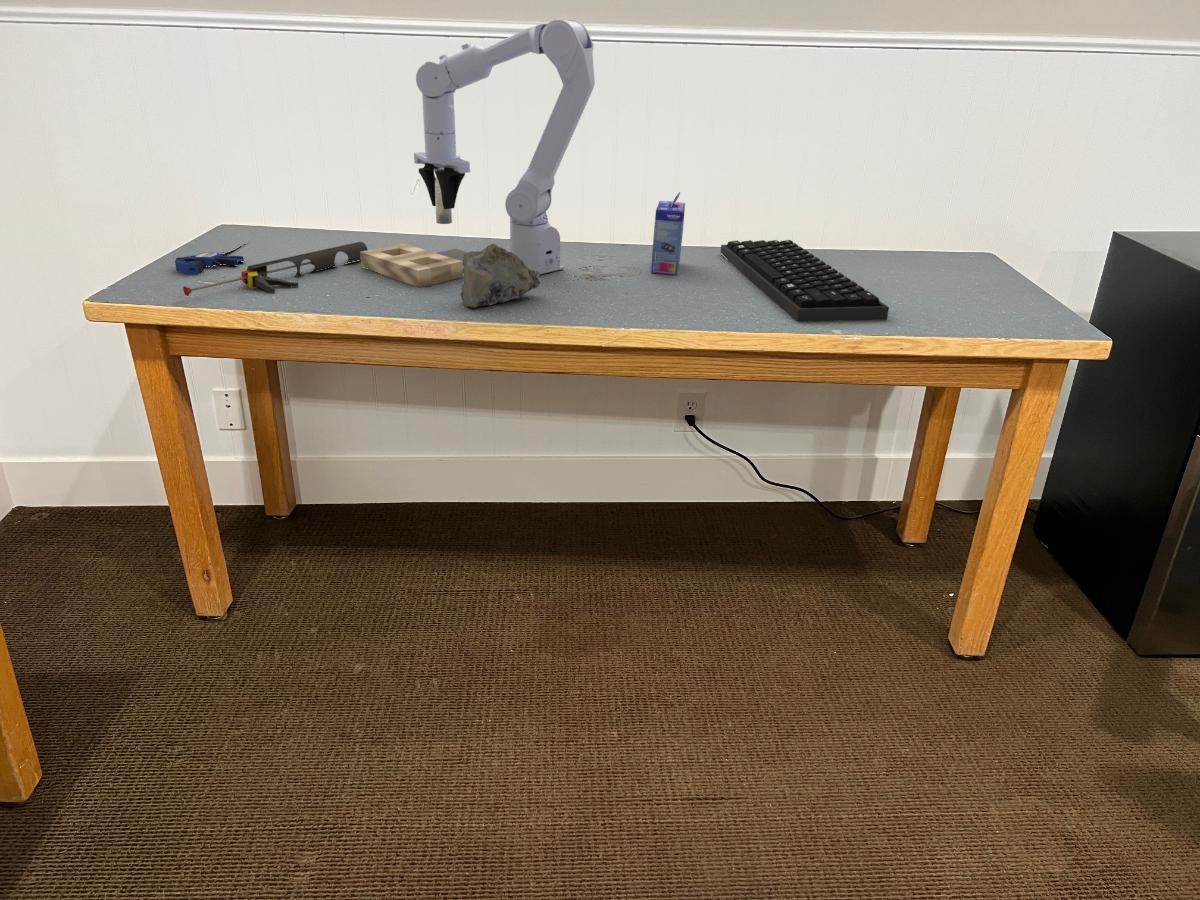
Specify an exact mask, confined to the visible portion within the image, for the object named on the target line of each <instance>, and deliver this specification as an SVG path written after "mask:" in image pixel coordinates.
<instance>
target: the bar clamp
mask: <svg viewBox="0 0 1200 900" xmlns="http://www.w3.org/2000/svg"><path fill="white" fill-rule="evenodd" d="M224 252H225V251H223V252H220V253H219V252H201V253H197V254H194V255H189V256H183V257H175V260H174V265H175V269H176V270H178V271H177V272H179V271H180V272H179V273H181V272H182V274H184V273H186V274H185V275H200V274H202V273H203V272H204V268H203V267H206V266H207V267H208V266H210V267H212V266H213V265H217V266H216V267H221V266H222V265H220V264H226V265H233V266H235V265H238V266H239V263H237V261H239V262H241V261H244V262H245V260H244V256H242V255H227V254H226V253H225V254H226V255H225V254H222V253H224ZM227 253H228V252H227ZM228 254H229V253H228ZM223 255H224V256H223ZM233 266H232V267H233ZM202 271H203V272H202ZM201 272H202V273H201ZM199 273H200V274H199Z"/></svg>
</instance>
